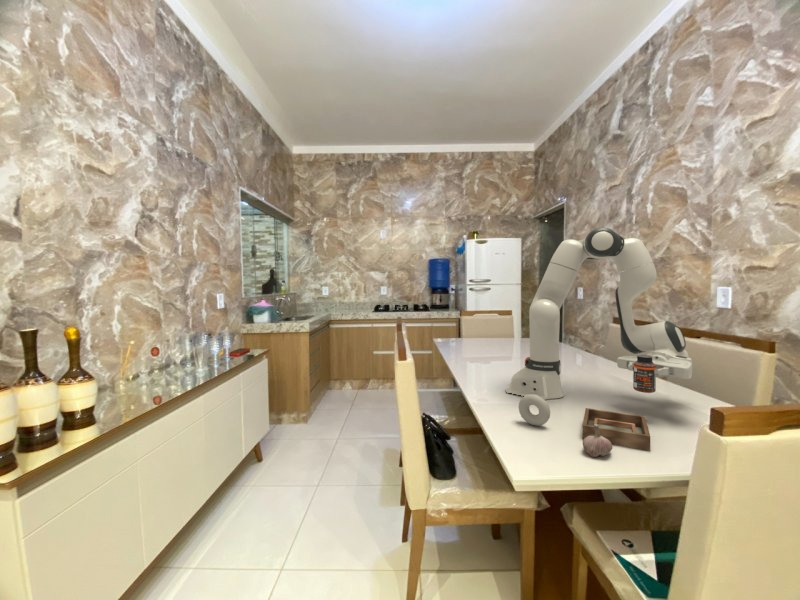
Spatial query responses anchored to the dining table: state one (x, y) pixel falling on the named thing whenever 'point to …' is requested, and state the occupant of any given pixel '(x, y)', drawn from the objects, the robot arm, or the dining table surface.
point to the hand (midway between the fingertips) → (643, 370)
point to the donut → (540, 404)
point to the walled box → (618, 428)
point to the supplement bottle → (644, 374)
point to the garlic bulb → (597, 444)
